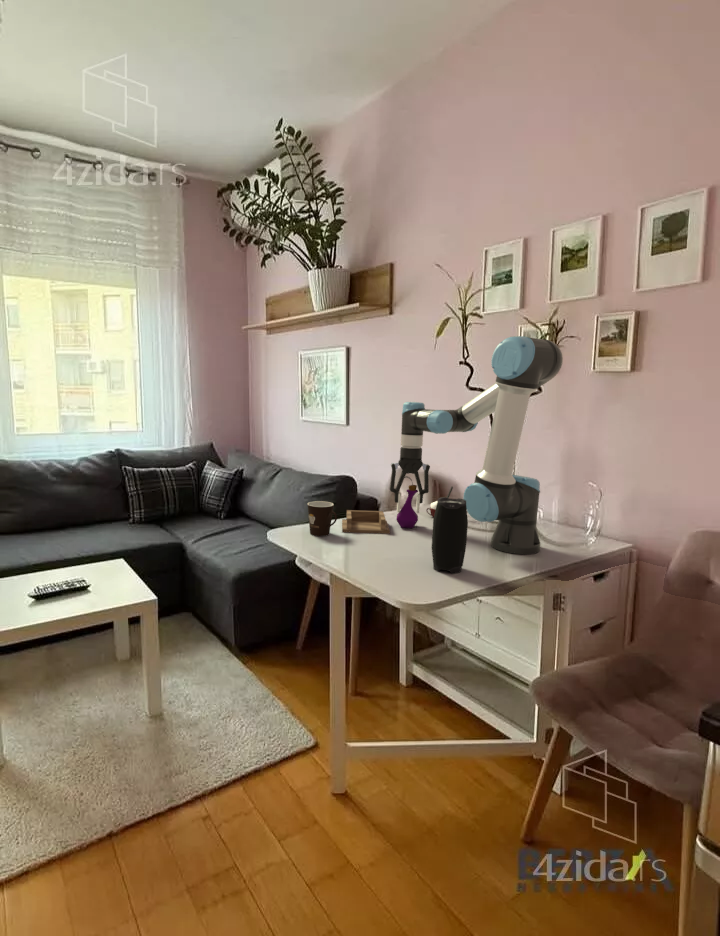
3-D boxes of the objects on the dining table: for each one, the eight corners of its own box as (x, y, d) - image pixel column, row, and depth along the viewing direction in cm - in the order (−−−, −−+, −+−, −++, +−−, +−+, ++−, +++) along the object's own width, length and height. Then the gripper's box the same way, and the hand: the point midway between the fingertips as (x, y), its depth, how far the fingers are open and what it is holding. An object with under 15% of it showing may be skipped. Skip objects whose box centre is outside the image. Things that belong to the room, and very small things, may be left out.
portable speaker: (425, 565, 158) (429, 497, 155) (455, 563, 161) (459, 496, 158) (439, 575, 150) (443, 503, 147) (470, 573, 153) (475, 502, 150)
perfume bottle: (417, 524, 203) (418, 475, 201) (417, 529, 196) (419, 478, 193) (396, 523, 204) (397, 474, 201) (396, 528, 197) (397, 477, 194)
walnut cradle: (389, 533, 190) (390, 520, 189) (342, 532, 189) (342, 519, 189) (386, 523, 204) (387, 511, 203) (342, 521, 203) (342, 509, 202)
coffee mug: (304, 530, 189) (304, 501, 188) (328, 529, 192) (329, 500, 190) (312, 540, 178) (312, 509, 177) (338, 539, 181) (339, 508, 179)
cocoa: (425, 518, 215) (425, 487, 213) (429, 514, 221) (429, 484, 219) (449, 520, 212) (450, 489, 210) (453, 516, 217) (454, 485, 215)
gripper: (436, 446, 200) (433, 510, 203) (383, 444, 199) (380, 508, 203) (440, 449, 192) (436, 515, 196) (384, 447, 192) (381, 513, 195)
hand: (407, 511), depth 199 cm, fingers open, 6 cm apart
